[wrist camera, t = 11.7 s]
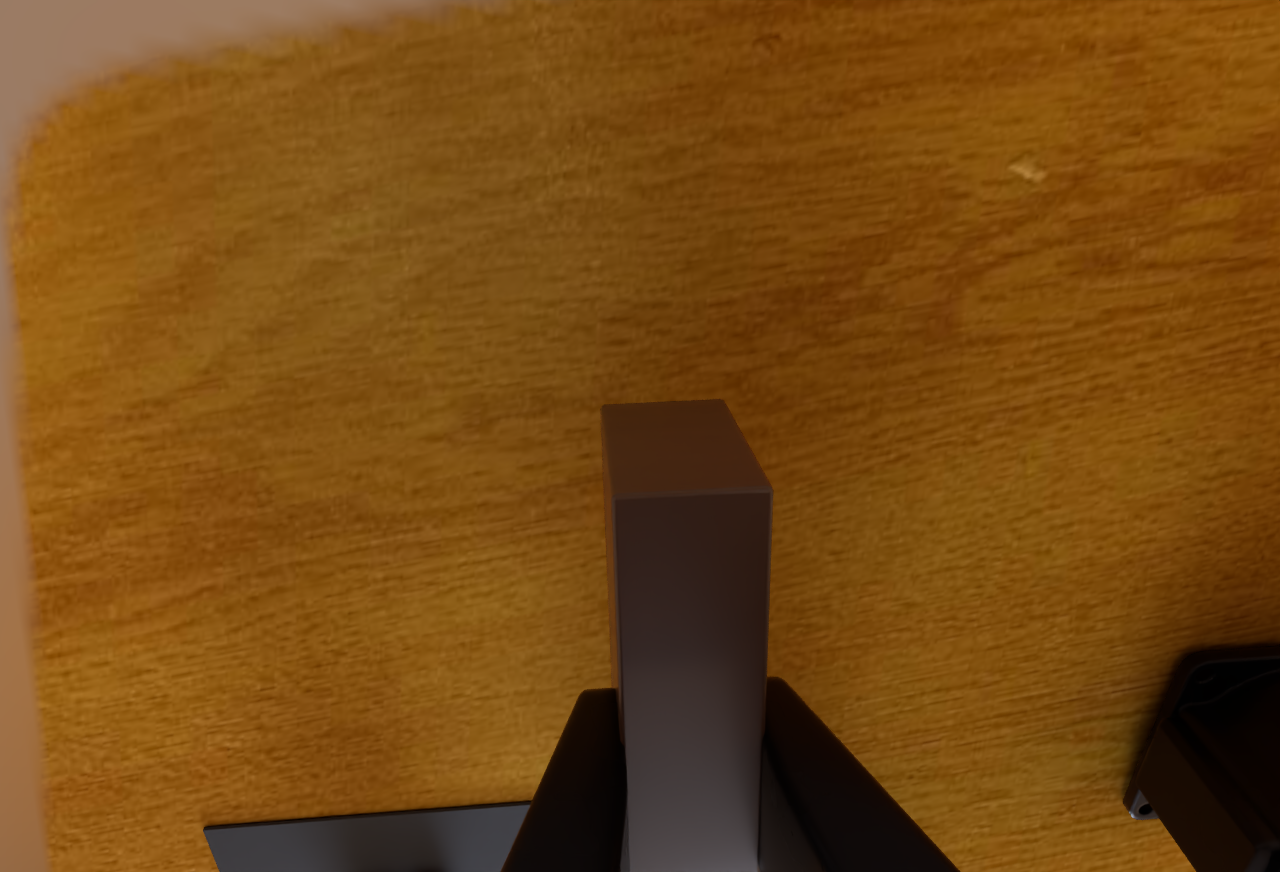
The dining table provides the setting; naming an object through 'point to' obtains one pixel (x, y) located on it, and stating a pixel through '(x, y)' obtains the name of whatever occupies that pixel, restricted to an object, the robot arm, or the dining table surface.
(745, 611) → the fork
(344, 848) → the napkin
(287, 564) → the dining table surface
